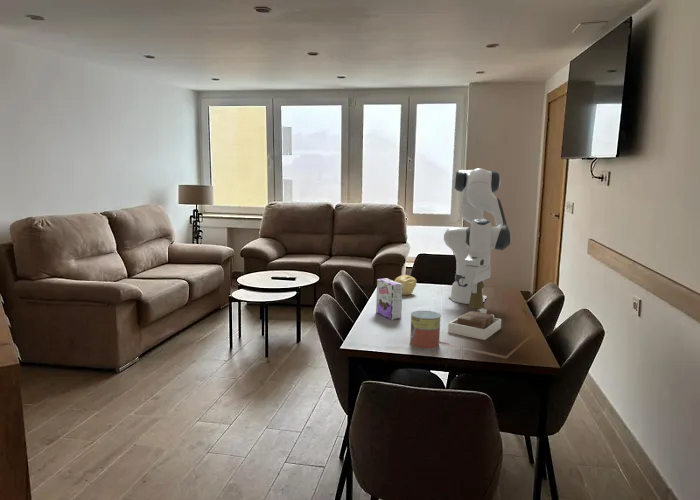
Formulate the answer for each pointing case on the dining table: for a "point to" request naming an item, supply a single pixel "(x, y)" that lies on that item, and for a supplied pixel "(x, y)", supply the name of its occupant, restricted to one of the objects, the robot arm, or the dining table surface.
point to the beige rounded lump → (406, 284)
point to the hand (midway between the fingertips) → (477, 291)
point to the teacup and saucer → (484, 311)
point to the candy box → (389, 298)
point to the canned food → (425, 330)
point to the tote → (474, 329)
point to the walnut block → (476, 319)
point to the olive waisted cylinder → (477, 297)
